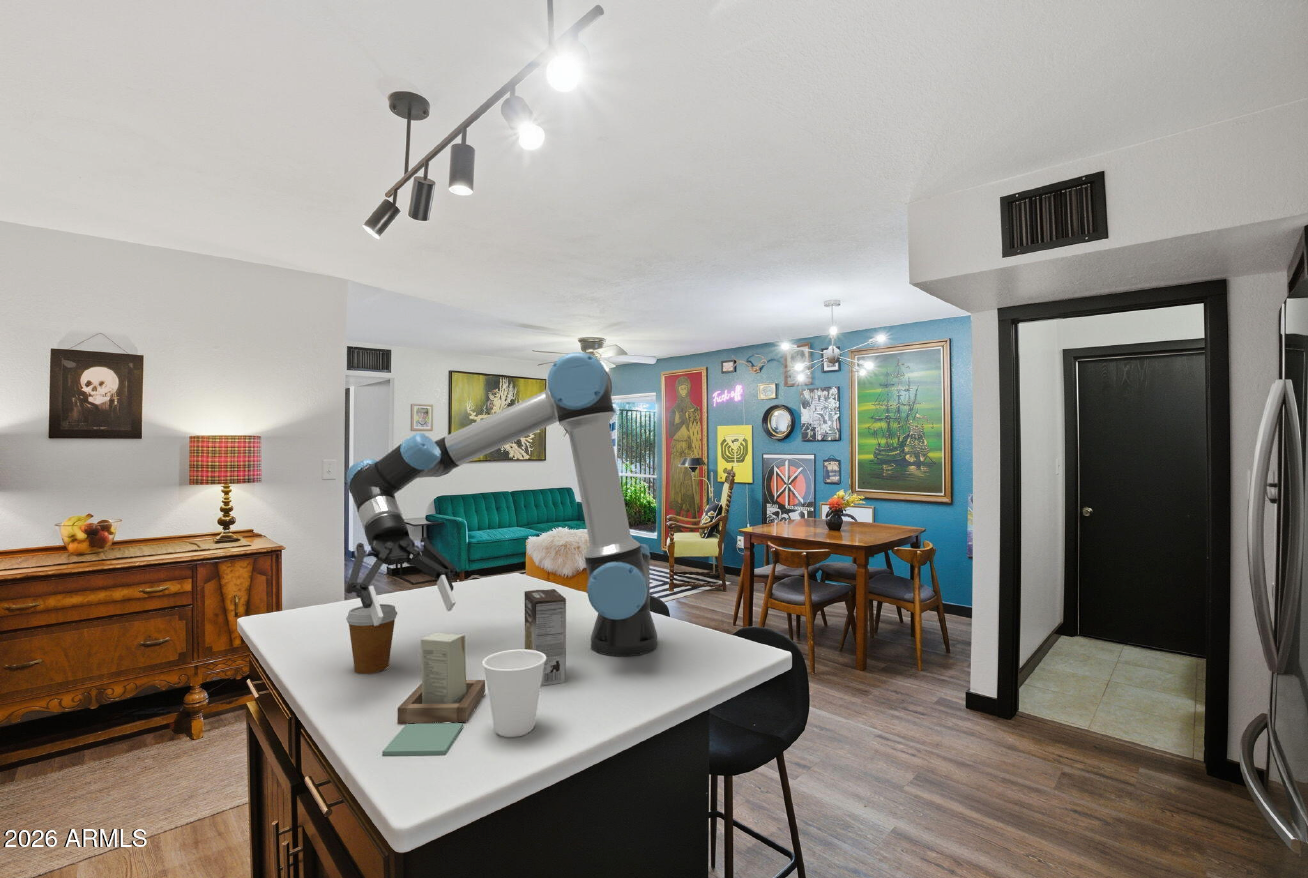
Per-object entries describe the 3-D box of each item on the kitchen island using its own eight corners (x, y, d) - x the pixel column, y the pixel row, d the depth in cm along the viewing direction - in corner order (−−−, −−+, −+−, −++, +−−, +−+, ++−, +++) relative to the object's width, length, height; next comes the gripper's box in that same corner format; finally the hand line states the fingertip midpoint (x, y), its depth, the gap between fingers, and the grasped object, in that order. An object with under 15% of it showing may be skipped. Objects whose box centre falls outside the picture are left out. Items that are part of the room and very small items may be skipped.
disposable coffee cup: (377, 678, 118) (378, 616, 119) (334, 675, 120) (335, 613, 120) (406, 662, 127) (407, 604, 128) (366, 659, 129) (367, 602, 130)
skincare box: (467, 705, 105) (467, 634, 106) (451, 715, 101) (451, 641, 101) (436, 700, 107) (437, 630, 108) (419, 710, 103) (420, 637, 104)
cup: (488, 717, 100) (488, 649, 101) (549, 714, 101) (549, 648, 102) (476, 745, 91) (476, 671, 91) (543, 742, 91) (543, 668, 92)
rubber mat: (463, 726, 97) (463, 723, 97) (445, 754, 88) (445, 750, 88) (406, 727, 97) (406, 723, 97) (382, 755, 88) (382, 751, 88)
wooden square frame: (485, 693, 110) (485, 679, 110) (466, 722, 98) (466, 707, 98) (424, 694, 110) (424, 680, 110) (397, 723, 98) (397, 707, 98)
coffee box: (523, 671, 121) (523, 590, 122) (555, 667, 124) (555, 587, 124) (533, 687, 113) (533, 600, 114) (566, 682, 116) (566, 597, 116)
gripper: (436, 531, 133) (471, 612, 122) (311, 543, 115) (338, 640, 104) (448, 508, 129) (485, 590, 118) (320, 517, 111) (350, 614, 100)
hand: (417, 613), depth 111 cm, fingers open, 13 cm apart
